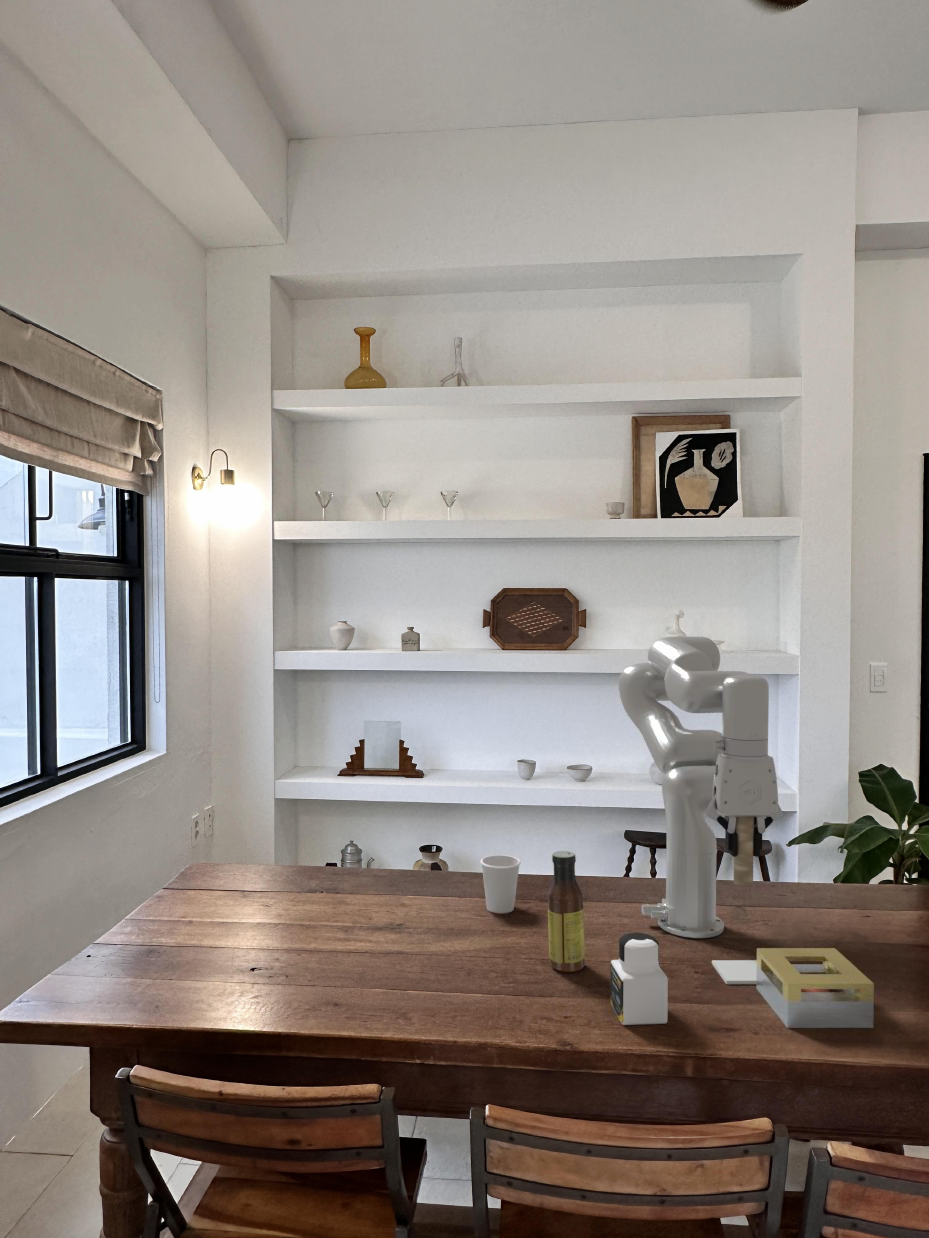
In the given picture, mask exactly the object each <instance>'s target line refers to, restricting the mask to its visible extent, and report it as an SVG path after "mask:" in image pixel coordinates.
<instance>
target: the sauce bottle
mask: <svg viewBox="0 0 929 1238" xmlns="http://www.w3.org/2000/svg"><path fill="white" fill-rule="evenodd" d="M576 858H577V857H576V853H574V852H572V851H569V850H559V851H558V850H557V851H555V852H553V853H552V856H551V860H552V863H553V876H552V877H553V880H552V881H551V883H550V884H549V887H548V889H547V919H548V920H547V921H548V922H547V924H548V925H547V926H548V955H549V961H550V965H551V967H552V969H554V970H557V971H559V972H563V973H575V972H578V971H581V970H582V969H584V966H585V964H586V963H585V960H586V959H585V957H586V953H585V951H586V948H585V947H586V945H585V942H586V941H585V920H584V919H585V918H584V903H583V893H582V891H581V888H580V886H579V885H578V882H577V879H576V878H577V877H576V870H575V869H576V861H577V859H576Z"/></svg>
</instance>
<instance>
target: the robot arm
mask: <svg viewBox="0 0 929 1238" xmlns="http://www.w3.org/2000/svg"><path fill="white" fill-rule="evenodd" d="M647 659H648V662H641V663H639V662H638V663H635V664H632V665H629V666H627V667H626V668H624V669H623V670H622V671H621V673H620V674H619V678H618V691H619V696H620V697H619V698H620V701H621V704H622V706H623V708H624V711H625V712H626V715H627V716H628V717H629V719H630V720H631V722H632V723H633V724H634V725H635V726H636V728H637V729H638V730H639V732H640V733H641V735H642V737H643V739H644V742H645V744H646V746H647V748H648V750H649V753H650V754H651V758H653V759H652V760H653V762H654V763H655V765H656V767H657V768H658V770H659V771H660V772H661V773H662V774H664V776H663V779H662V781H661V793H662V794H661V795H662V799H663V805H664V811H665V825H666V826H665V828H666V833H665V835H666V841H665V842H666V850H665V851H666V855H665V856H666V860H665V861H666V868H665V869H666V872H665V876H666V877H665V881H666V882H665V898H661V903H660V902H658V903H657V904H641V913H642V915H644V916H645V915H646V916H647V915H649V916H650V917H651V919H657V924H658V926H659V927H660V928H661V929H662V930H664V931H665V932H667V933H669V934H671V935H675V936H678V937H683V938H691V939H707V938H708V939H709V938H715V937H717V936H720V935H721V934H722V933H723V932H724V930H725V923H724V922H723V920H722V919H721V918H720V917H719V916H717V915H716V914H717V911H716V910H717V905H716V904H717V838H716V836H715V833H714V831H713V829H712V828H711V827H710V825H709V824H708V823H707V822H706V820H705V817H708V818H710V819H711V820H713V821H715V822H717V823H718V824H719V826H721V827H722V828H723V829H724V831H725V838H724V839H725V840H724V841H725V843H724V845H725V846H724V847H725V850H726V851H727V853H728V854H729V855H730V856H731V857H733V858H734V857H736V856H738V834H737V833H735V824H736V817H754V855H753V857H756V858H759V857H760V856H761V851H762V850H763V834H764V833H765V832H766V830H767V828H769V826H771V825H772V823H773V822H777V820H779V819H781V818H782V817H783V816H784V812H783V810H782V808H781V806H780V804H779V793H778V790H779V789H778V781H777V773H776V772H777V771H776V767H775V766H776V765H775V760H774V757H773V756H770V755H769V704H770V703H769V702H770V697H769V696H770V695H769V694H770V693H769V692H770V690H769V689H770V688H769V683H768V681H767V679H766V678H764V677H761V676H757V675H752V674H750V673H748V672H746V671H740V670H725V671H724V670H719V667H720V664H721V653H720V650H719V647H718V645H717V643H716V642H714V641H713V640H712V639H711V638H709V637H706V636H665V637H660V638H659V639H657V640H655V641H654V642H653V643H652V644H651V645H650V647H649V648H648V651H647ZM664 701H667V702H669V701H670V703H672V704H673V705H674V706H675V707H676V708H679V709H680V710H682V711H684V712H685V713H690V714H715V713H716V714H719V713H721V716H722V718H721V720H722V722H721V723H722V724H721V732H720V731H717V730H714V729H688V728H685V727H684V726H683V724H682V723H681V721H680V719H679V717H678V716H677V715H676V714H675V713H674V711H672V710H671V709H670V708H669V707H667V706H666V705H664V704H663V703H661V702H664Z"/></svg>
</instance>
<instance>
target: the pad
mask: <svg viewBox="0 0 929 1238" xmlns="http://www.w3.org/2000/svg"><path fill="white" fill-rule="evenodd" d="M711 965H712V966H713V968H714V969H715V970H716V972H717V973H718V975H719V977H721V979H722V981H723V982H724V983H725V984H726V985H756V977H757V959H753V960H751V959H744V960H743V959H742V960H741V959H740V960H735V959H734V960H727V959H726V960H725V959H723V960H720V959H719V960H718V959H717V960H716V959H715V960H714V959H712V960H711Z"/></svg>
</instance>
